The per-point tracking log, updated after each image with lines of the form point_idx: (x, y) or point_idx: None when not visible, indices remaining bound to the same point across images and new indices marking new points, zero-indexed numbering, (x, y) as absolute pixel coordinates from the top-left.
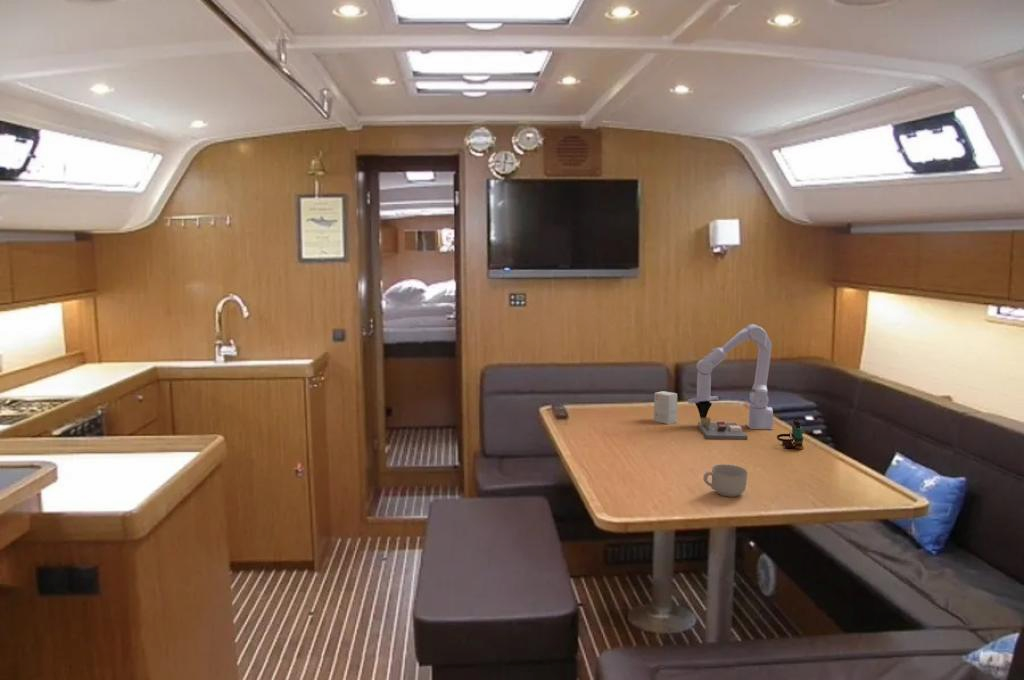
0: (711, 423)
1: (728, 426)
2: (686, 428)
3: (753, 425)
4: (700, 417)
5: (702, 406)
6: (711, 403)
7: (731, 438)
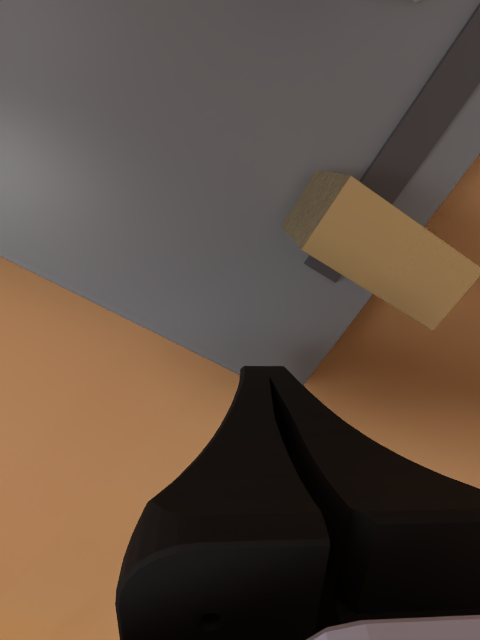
0: (176, 299)
1: (47, 12)
2: (460, 349)
3: None
4: (439, 317)
5: (472, 492)
6: (154, 544)
7: None
